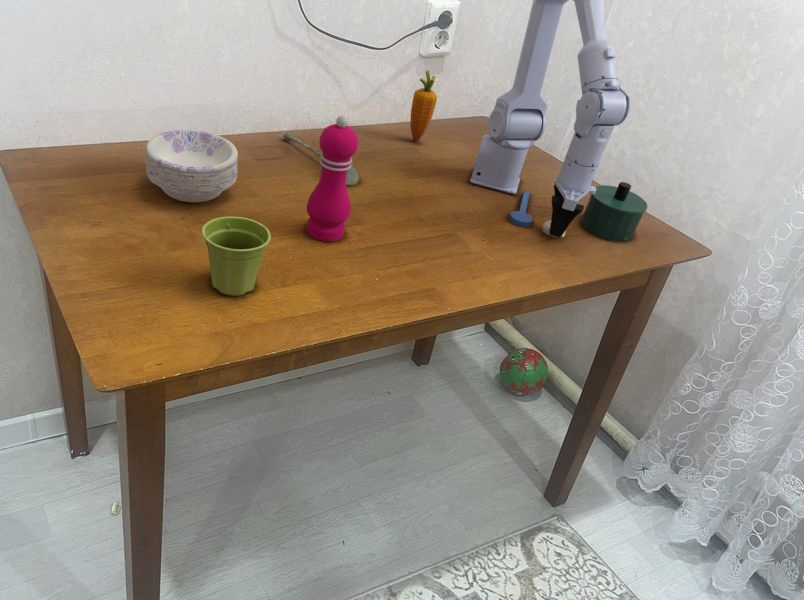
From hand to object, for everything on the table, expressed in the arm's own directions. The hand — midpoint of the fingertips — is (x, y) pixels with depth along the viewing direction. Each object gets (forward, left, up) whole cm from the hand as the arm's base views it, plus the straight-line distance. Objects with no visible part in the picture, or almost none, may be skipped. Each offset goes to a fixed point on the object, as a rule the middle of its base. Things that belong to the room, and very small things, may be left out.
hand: (555, 229), depth 130 cm
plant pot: (-44, -44, -2) cm, 63 cm away
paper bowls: (-62, -21, -2) cm, 66 cm away
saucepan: (+10, +9, -1) cm, 14 cm away
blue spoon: (-6, +8, -1) cm, 10 cm away
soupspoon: (-47, +4, -2) cm, 48 cm away
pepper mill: (-37, -22, -2) cm, 44 cm away
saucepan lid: (+10, +9, +4) cm, 14 cm away
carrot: (-32, +27, -2) cm, 42 cm away
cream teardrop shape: (0, 0, -2) cm, 2 cm away
